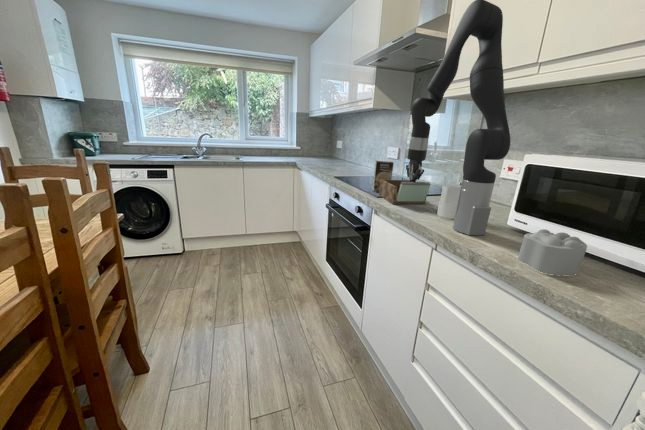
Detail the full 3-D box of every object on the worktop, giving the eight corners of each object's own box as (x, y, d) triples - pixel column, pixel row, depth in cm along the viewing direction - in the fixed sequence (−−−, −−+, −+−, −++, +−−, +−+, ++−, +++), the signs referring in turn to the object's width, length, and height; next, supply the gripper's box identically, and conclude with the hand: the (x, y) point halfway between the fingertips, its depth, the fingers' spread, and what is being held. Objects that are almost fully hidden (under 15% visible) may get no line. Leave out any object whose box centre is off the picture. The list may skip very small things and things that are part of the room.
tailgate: (424, 201, 125) (430, 183, 120) (397, 201, 122) (402, 183, 117) (423, 199, 126) (429, 182, 121) (396, 199, 124) (401, 181, 119)
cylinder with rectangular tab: (450, 212, 116) (455, 184, 113) (466, 218, 108) (472, 188, 105) (432, 212, 114) (437, 184, 110) (447, 219, 106) (452, 189, 102)
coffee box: (372, 191, 149) (375, 161, 144) (372, 189, 155) (374, 160, 150) (390, 192, 148) (393, 162, 143) (388, 190, 154) (392, 161, 149)
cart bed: (425, 204, 127) (427, 187, 124) (392, 204, 124) (394, 186, 122) (407, 195, 144) (409, 180, 141) (378, 195, 141) (380, 179, 139)
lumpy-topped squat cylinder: (511, 257, 75) (519, 227, 72) (552, 256, 77) (561, 227, 74) (546, 277, 65) (557, 243, 62) (592, 275, 67) (604, 242, 64)
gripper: (434, 150, 112) (426, 191, 118) (418, 147, 124) (412, 184, 130) (417, 149, 111) (410, 191, 116) (403, 146, 123) (397, 184, 129)
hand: (411, 188), depth 123 cm, fingers closed
